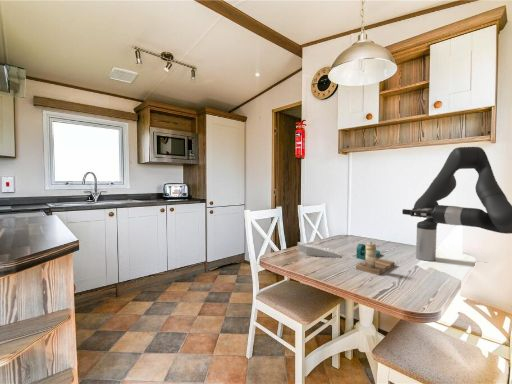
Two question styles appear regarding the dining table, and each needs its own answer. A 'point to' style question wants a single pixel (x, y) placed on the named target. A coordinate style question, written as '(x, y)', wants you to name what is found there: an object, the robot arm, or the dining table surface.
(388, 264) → the board
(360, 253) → the bracket
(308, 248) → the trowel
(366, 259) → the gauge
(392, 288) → the dining table surface
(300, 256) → the dining table surface
